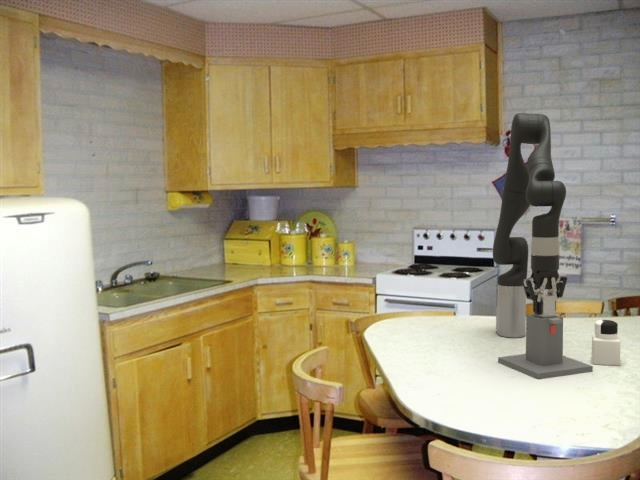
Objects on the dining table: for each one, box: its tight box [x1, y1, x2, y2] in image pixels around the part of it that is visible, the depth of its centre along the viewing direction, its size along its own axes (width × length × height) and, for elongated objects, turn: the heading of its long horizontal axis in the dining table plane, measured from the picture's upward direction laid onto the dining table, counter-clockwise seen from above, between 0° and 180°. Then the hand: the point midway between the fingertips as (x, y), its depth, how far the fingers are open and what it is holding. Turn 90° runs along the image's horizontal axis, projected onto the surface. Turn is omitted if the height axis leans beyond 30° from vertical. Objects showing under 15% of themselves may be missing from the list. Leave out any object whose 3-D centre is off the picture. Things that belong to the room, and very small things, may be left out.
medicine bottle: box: [591, 319, 621, 367], centre depth 195 cm, size 7×7×12 cm
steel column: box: [533, 292, 556, 319], centre depth 190 cm, size 4×4×18 cm
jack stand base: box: [497, 313, 593, 380], centre depth 191 cm, size 18×18×14 cm
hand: (544, 313), depth 190 cm, fingers closed on steel column, 4 cm apart
